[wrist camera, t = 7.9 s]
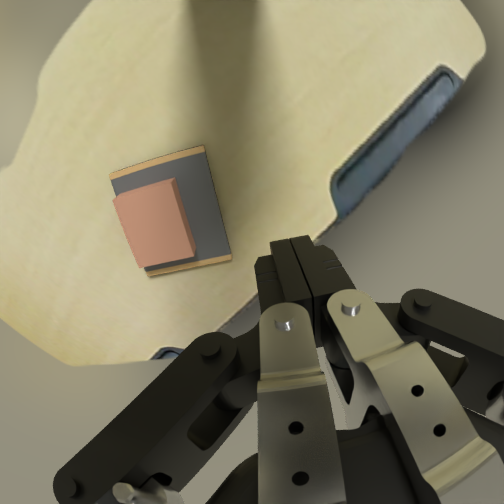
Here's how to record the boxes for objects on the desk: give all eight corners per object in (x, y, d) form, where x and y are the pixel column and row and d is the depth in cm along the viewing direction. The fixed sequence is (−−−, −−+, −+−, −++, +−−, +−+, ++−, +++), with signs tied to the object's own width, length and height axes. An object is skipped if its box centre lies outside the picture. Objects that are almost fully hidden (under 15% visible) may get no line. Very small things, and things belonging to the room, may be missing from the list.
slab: (175, 177, 32) (119, 193, 32) (170, 182, 30) (112, 200, 30) (196, 246, 37) (144, 258, 37) (194, 256, 35) (139, 268, 35)
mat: (110, 173, 31) (108, 174, 31) (203, 144, 31) (203, 145, 31) (148, 274, 39) (147, 276, 39) (232, 257, 39) (232, 259, 38)
